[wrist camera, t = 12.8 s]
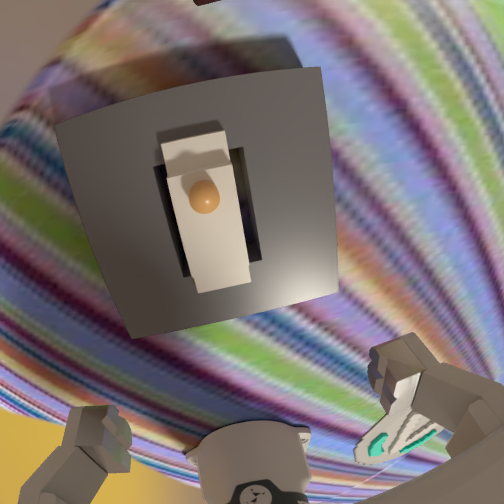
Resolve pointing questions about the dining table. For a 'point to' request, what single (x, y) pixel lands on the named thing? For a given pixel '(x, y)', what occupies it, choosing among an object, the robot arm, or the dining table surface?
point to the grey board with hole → (256, 185)
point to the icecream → (204, 2)
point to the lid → (395, 437)
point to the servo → (207, 210)
